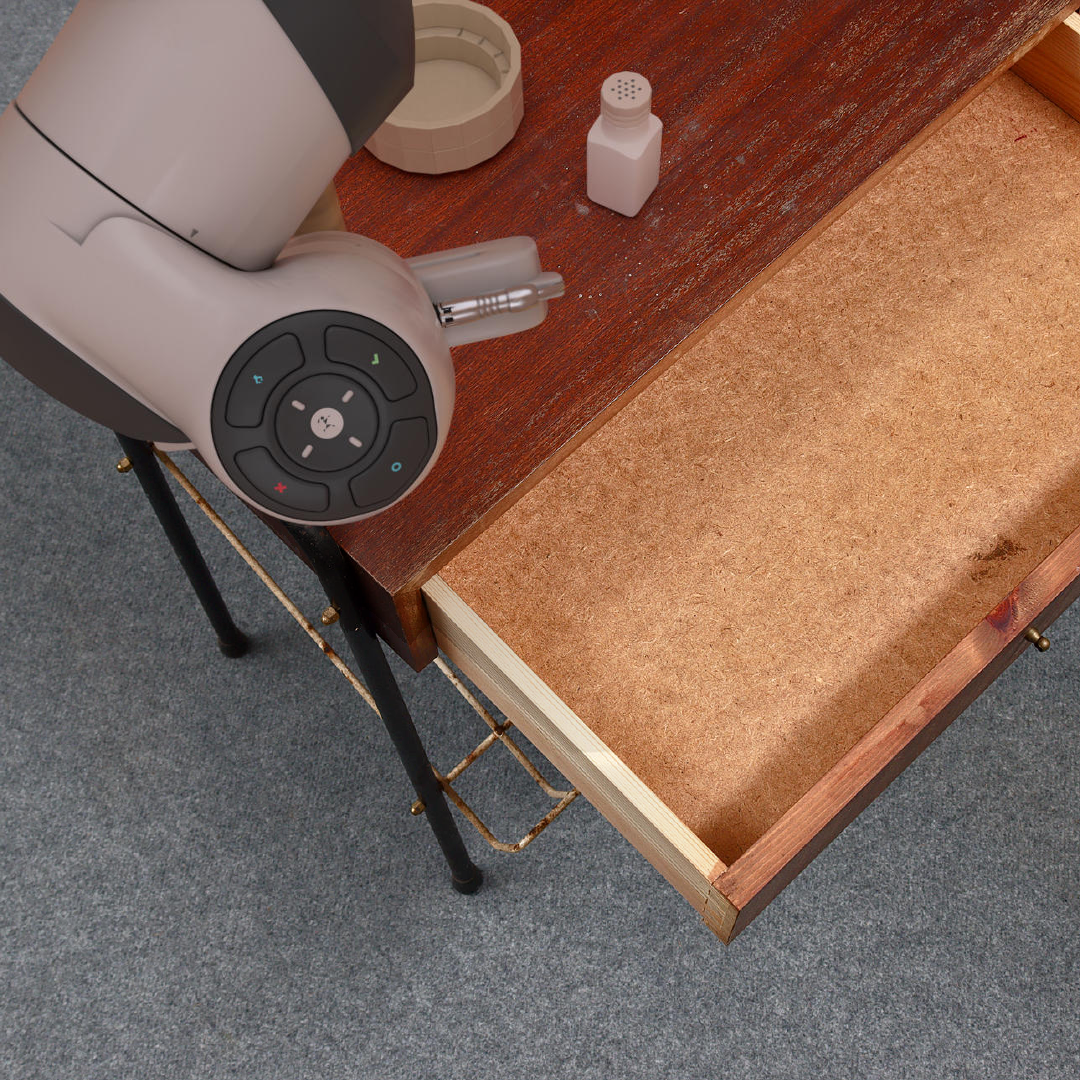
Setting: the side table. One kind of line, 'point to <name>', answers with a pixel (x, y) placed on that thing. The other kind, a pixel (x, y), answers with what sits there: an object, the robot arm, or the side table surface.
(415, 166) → the bowl
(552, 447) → the side table surface
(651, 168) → the salt shaker
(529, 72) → the side table surface
